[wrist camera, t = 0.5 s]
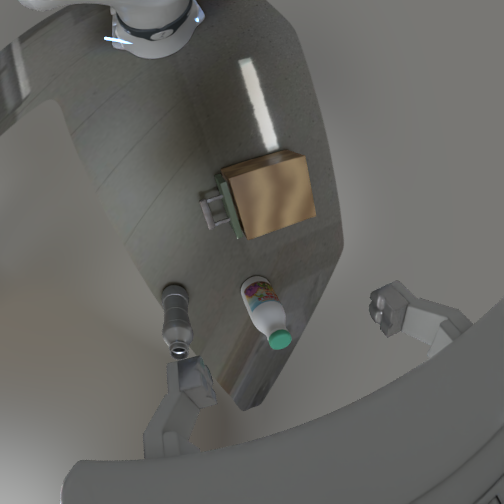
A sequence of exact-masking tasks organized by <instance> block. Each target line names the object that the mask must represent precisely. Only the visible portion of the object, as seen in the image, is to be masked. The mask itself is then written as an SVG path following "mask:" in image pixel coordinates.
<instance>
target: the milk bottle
mask: <svg viewBox="0 0 504 504" xmlns="http://www.w3.org/2000/svg"><path fill="white" fill-rule="evenodd" d="M241 295H242V298H243V300H244V303H245V305H246V308H247V310H248V313H249V315H250V317H251V319H252V322H253V323H254V325H255V327H256V328H257V329H258V330H259V331H261V332H262V333H264V334H265V335H266V336H267V339H268V341H269V344H270V346H271V347H272V348H273V349H282V348H285V347H286V346H288V345H289V344H290V342H291V335H290V333H289V332H288V330H287V329H286V328H285V320H286V317H285V311H284V309H283V306H282V304H281V302H280V301H279V299H278V297H277V295H276V294H275V292H274V290H273V288H272V287H271V285H270V283H269V282H268V280H267V279H266V278H264V277H261V276H254V277H251V278H249V279H247V280H246V281H245V282H244V283H243V285H242V287H241Z"/></svg>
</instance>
